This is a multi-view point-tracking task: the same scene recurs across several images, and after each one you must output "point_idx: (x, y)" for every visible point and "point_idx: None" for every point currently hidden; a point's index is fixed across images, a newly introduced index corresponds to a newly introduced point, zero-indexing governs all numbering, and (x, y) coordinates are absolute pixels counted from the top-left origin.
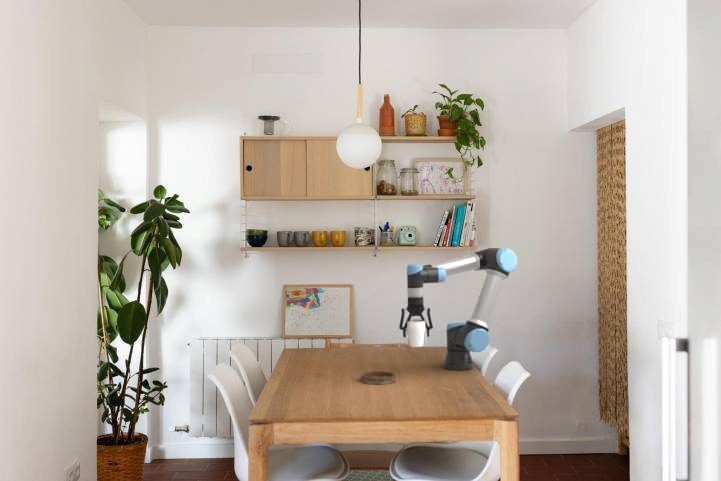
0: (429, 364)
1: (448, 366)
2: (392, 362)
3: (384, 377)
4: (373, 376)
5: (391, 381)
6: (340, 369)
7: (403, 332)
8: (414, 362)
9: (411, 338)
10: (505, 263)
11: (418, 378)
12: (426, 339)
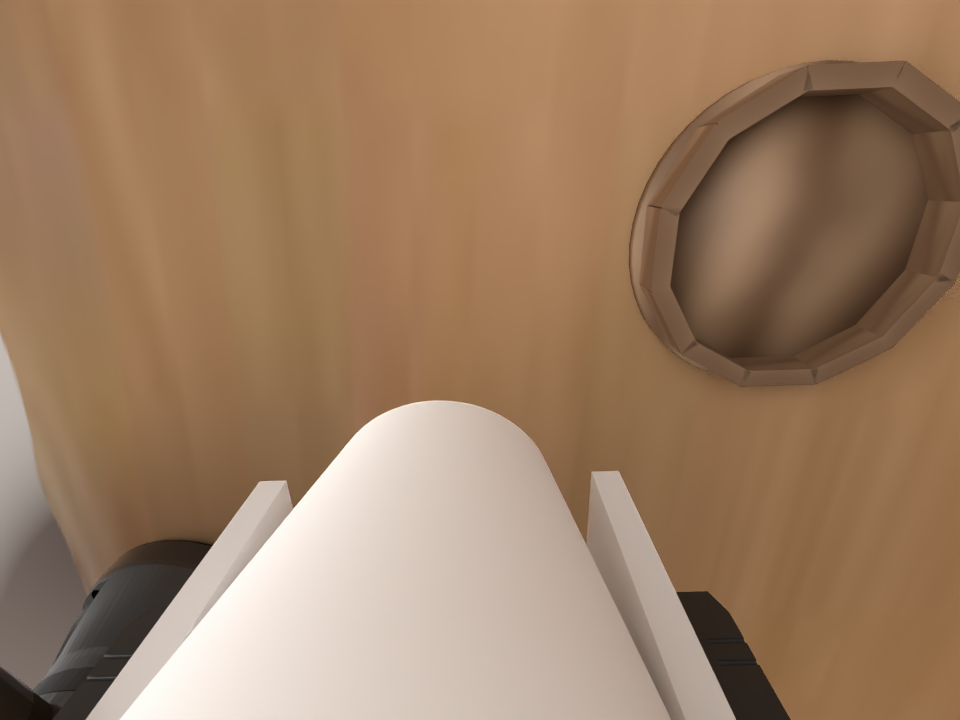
0: None
1: None
2: None
3: (726, 293)
4: (804, 331)
5: (700, 124)
6: (938, 578)
7: (777, 712)
8: None
9: (542, 501)
10: None
11: (451, 314)
12: (227, 540)
